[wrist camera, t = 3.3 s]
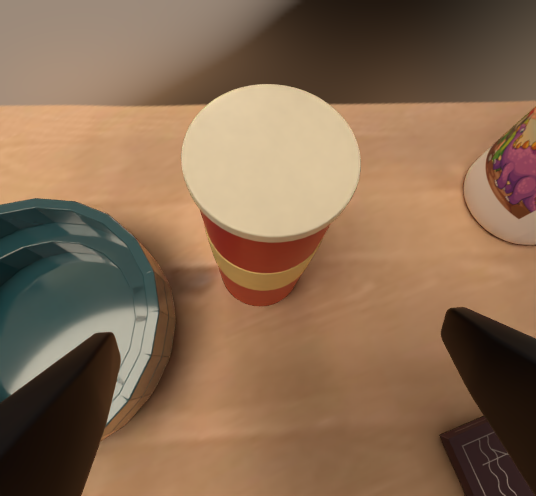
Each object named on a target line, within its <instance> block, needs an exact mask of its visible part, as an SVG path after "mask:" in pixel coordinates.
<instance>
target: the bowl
mask: <svg viewBox="0 0 536 496" xmlns="http://www.w3.org/2000/svg"><path fill="white" fill-rule="evenodd" d="M175 325H176V315H175V309H174V303H173V297H172V291H171V287H170V285H169V283H168V281H167V279H166V277H165V275H164V274H163V272H162V270H161V268H160V266H159V264H158V263H157V261H156V260H155V258H154V257H153V256H152V255H151V254H150V253H149V252H148V251H147V250H146V249H145V247H144V246H143V245H142V244H141V243H140V242H139V241H138V240H137V239H136V238H135V237H134V236H133V235H132V234H131V233H130V232H129V231H127V230H126V229H125V228H124V227H123V226H122V225H121V224H119V223H118V222H117V221H116V220H115V219H114V218H112V217H111V216H110V215H108V214H106V213H103V212H101V211H98V210H96V209H93V208H91V207H88V206H86V205H83V204H81V203H78V202H75V201H63V200H51V199H39V198H37V199H36V198H35V199H29V200H24V201H18V202H13V203H7V204H2V205H0V403H1V402H2V401H3V400H5V399H6V398H8V397H9V396H10V395H12V394H13V393H14V392H16V391H17V390H18V389H20V388H21V387H23V386H24V385H25V384H27V383H28V382H29V381H31V380H32V379H33V378H35V377H36V376H37V375H39V374H40V373H42V372H43V371H44V370H46V369H47V368H48V367H50V366H51V365H52V364H54V363H55V362H57V361H58V360H59V359H61V358H62V357H63V356H65V355H66V354H67V353H69V352H70V351H71V350H73V349H74V348H76V347H77V346H78V345H80V344H81V343H82V342H84V341H85V340H86V339H88V338H89V337H91V336H92V335H93V334H95V333H100V332H112V333H113V334H114V335H115V338H116V342H117V345H118V349H119V352H120V356H121V364H120V369H119V373H118V377H117V382H116V386H115V390H114V394H113V399H112V403H111V407H110V411H109V415H108V419H107V423H106V426H105V429H104V432H103V435H102V438H101V441H102V440H104V439H105V438H107V437H108V436H110V435H111V434H113V433H114V432H116V431H118V430H119V429H121V428H122V427H124V425H126V424H127V422H128V421H129V420H130V419H131V418H132V417H133V416H134V414H135V413H136V412H137V411H138V410H139V409H140V408H141V406H142V405H143V404H144V403H145V402H146V401H147V400H148V399H149V397H150V396H151V395H152V393H153V392H154V390H155V388H156V386H157V384H158V382H159V380H160V378H161V376H162V373H163V371H164V369H165V367H166V365H167V363H168V361H169V359H170V356H171V351H172V344H173V338H174V332H175ZM101 441H100V442H101Z"/></svg>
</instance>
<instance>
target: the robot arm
mask: <svg viewBox="0 0 536 496" xmlns="http://www.w3.org/2000/svg"><path fill="white" fill-rule="evenodd" d="M441 337H442V340H443V342H444V344H445V346H446V348H447V350H448V352H449V354H450V356H451V358H452V360H453V362H454V364H455V366H456V368H457V370H458V372H459V374H460V376H461V378H462V380H463V382H464V384H465V385H466V387H467V389H468V391H469V393H470V394H471V396H472V398H473V399H474V401H475V402H476V404H477V405H478V407H479V409H480V410H481V412H482V413H483V415H484V416H485V418H486V420H487V421H488V423H489V424H490V426H491V428H492V429H493V431H494V432H495V434H496V435H497V437H498V439H499V440H500V442H501V443H502V445H503V446H504V448H505V450H506V451H507V453H508V454H509V456H510V457H511V459H512V461H513V462H514V464H515V465H516V467H517V468H518V470H519V472H520V473H521V475H522V476H523V478H524V479H525V481H526V483H527V484H528V486H529V487H530V489H531V490H532V492H533V494H534V495H535V496H536V339H535V338H533V337H531V336H529V335H526V334H524V333H522V332H520V331H517V330H515V329H513V328H510V327H508V326H506V325H504V324H501V323H499V322H497V321H495V320H492V319H490V318H488V317H486V316H483V315H481V314H479V313H477V312H474V311H472V310H470V309H467V308H465V307H456V308H450V309H448V310H447V312H446V315H445V319H444V322H443V326H442V329H441ZM120 364H121V356H120V352H119V349H118V345H117V342H116V338H115V335H114V334H113V333H112V332H100V333H95V334H93V335H92V336H91V337H89V338H88V339H86V340H85V341H84V342H82V343H81V344H80V345H78V346H77V347H76V348H74V349H73V350H71V351H70V352H69V353H67V354H66V355H65V356H63V357H62V358H61V359H59V360H58V361H57V362H55V363H54V364H52V365H51V366H50V367H48V368H47V369H46V370H44V371H43V372H42V373H40V374H39V375H37V376H36V377H35V378H33V379H32V380H31V381H29V382H28V383H27V384H25V385H24V386H23V387H21V388H20V389H18V390H17V391H16V392H14V393H13V394H12V395H10V396H9V397H8V398H6V399H5V400H3V401H2V402H1V403H0V496H81V495H82V492H83V489H84V486H85V483H86V480H87V478H88V475H89V472H90V469H91V466H92V463H93V461H94V458H95V455H96V452H97V449H98V446H99V444H100V441H101V438H102V435H103V432H104V429H105V426H106V423H107V419H108V415H109V411H110V407H111V403H112V399H113V394H114V390H115V386H116V382H117V377H118V373H119V369H120Z"/></svg>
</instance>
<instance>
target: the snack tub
mask: <svg viewBox="0 0 536 496" xmlns="http://www.w3.org/2000/svg"><path fill="white" fill-rule="evenodd" d="M181 164H182V171H183V175H184V179H185V182H186V185H187V187H188V190H189V192H190V195H191V197H192V198H193V200H194V202H195V203H196V205H197V206H198V207H199V209H200V212H201V215H202V218H203V221H204V224H205V230H206V234H207V237H208V240H209V243H210V246H211V249H212V252H213V255H214V258H215V260H216V262H217V264H218V267H219V270H220V273H221V276H222V279H223V282H224V284H225V286H226V288H227V289H228V291H229V292H230V293H231V294H232V295H233V296H234V297H235V298H237V299H238V300H240V301H242V302H244V303H246V304H249V305H253V306H267V305H271V304H274V303H277V302H279V301H280V300H282V299H284V298H285V297H286V296H287V295H288V294H289V293H290V292H291V291H292V289H293V288H294V286H295V284H296V283H297V281H298V279H299V278H300V276H301V274H302V273H303V272H304V270H305V269H306V267H307V266H308V264H309V262H310V261H311V259H312V257H313V256H314V254H315V252H316V251H317V249H318V247H319V245H320V243H321V241H322V239H323V236H324V234H325V233H326V231H327V229H328V228H329V226H330V224H331V223H332V222H333V221H334V220H335V219H336V218H337V217H338V216H339V215H340V214H341V213H342V212H343V210H344V209H345V207H346V206H347V205H348V203H349V201H350V200H351V198H352V196H353V194H354V192H355V190H356V188H357V185H358V181H359V177H360V171H361V159H360V152H359V147H358V144H357V140H356V138H355V136H354V134H353V131H352V130H351V128H350V127H349V125H348V123H347V122H346V121H345V120H344V118H343V117H342V116H341V115H340V114H339V113H338V112H337V111H336V110H335V109H334V108H333V107H332V106H330V105H329V104H328V103H326V102H325V101H323V100H322V99H320V98H318V97H317V96H315V95H313V94H310V93H308V92H306V91H303V90H300V89H297V88H293V87H289V86H283V85H273V84H261V85H252V86H246V87H242V88H239V89H235V90H232V91H230V92H228V93H225V94H223V95H221V96H220V97H218V98H216V99H214V100H213V101H212V102H210V103H209V104H208V105H206V106H205V107H204V108H203V109H202V110H201V111H200V112H199V113H198V115H197V116H196V117H195V118H194V120H193V121H192V123H191V125H190V126H189V128H188V130H187V133H186V135H185V138H184V141H183V146H182V153H181Z"/></svg>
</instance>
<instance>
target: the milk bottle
mask: <svg viewBox="0 0 536 496" xmlns="http://www.w3.org/2000/svg"><path fill="white" fill-rule="evenodd" d="M464 197H465V201H466V203H467V206H468V208H469V210H470V212H471V214H472V215H473V217H474V218H475V219H476V220H477V222H478V223H479V224H480V225H481V226H483V227H484V228H485V229H486V230H487V231H488V232H490V233H491V234H493V235H494V236H496V237H498V238H500V239H502V240H505V241H508V242H511V243H515V244H523V245H536V107H534V108H533V109H532V110H531V111H530V112H529V113H528V114H527V115H525V116H524V117H523V118H522V119H521V120H520V121H519V122H518V123H517V124H515V125H514V126H513V127H512V128H511V129H510V130H509V131H508V132H507V133H505V134H504V135H503V136H502V137H501V138H500V139H499V140H498V141H497V142H495V143H494V144H493V145H492V146H491V147H490V148H489V149H488V150H487V151H486V152H484V153H483V154H482V155H481V156H480V157H479V158H478V159H477V160H476V161H475V162H474V163H473V164H472V165H471V167H470V168H469V170H468V172H467V175H466V178H465V181H464Z"/></svg>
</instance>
